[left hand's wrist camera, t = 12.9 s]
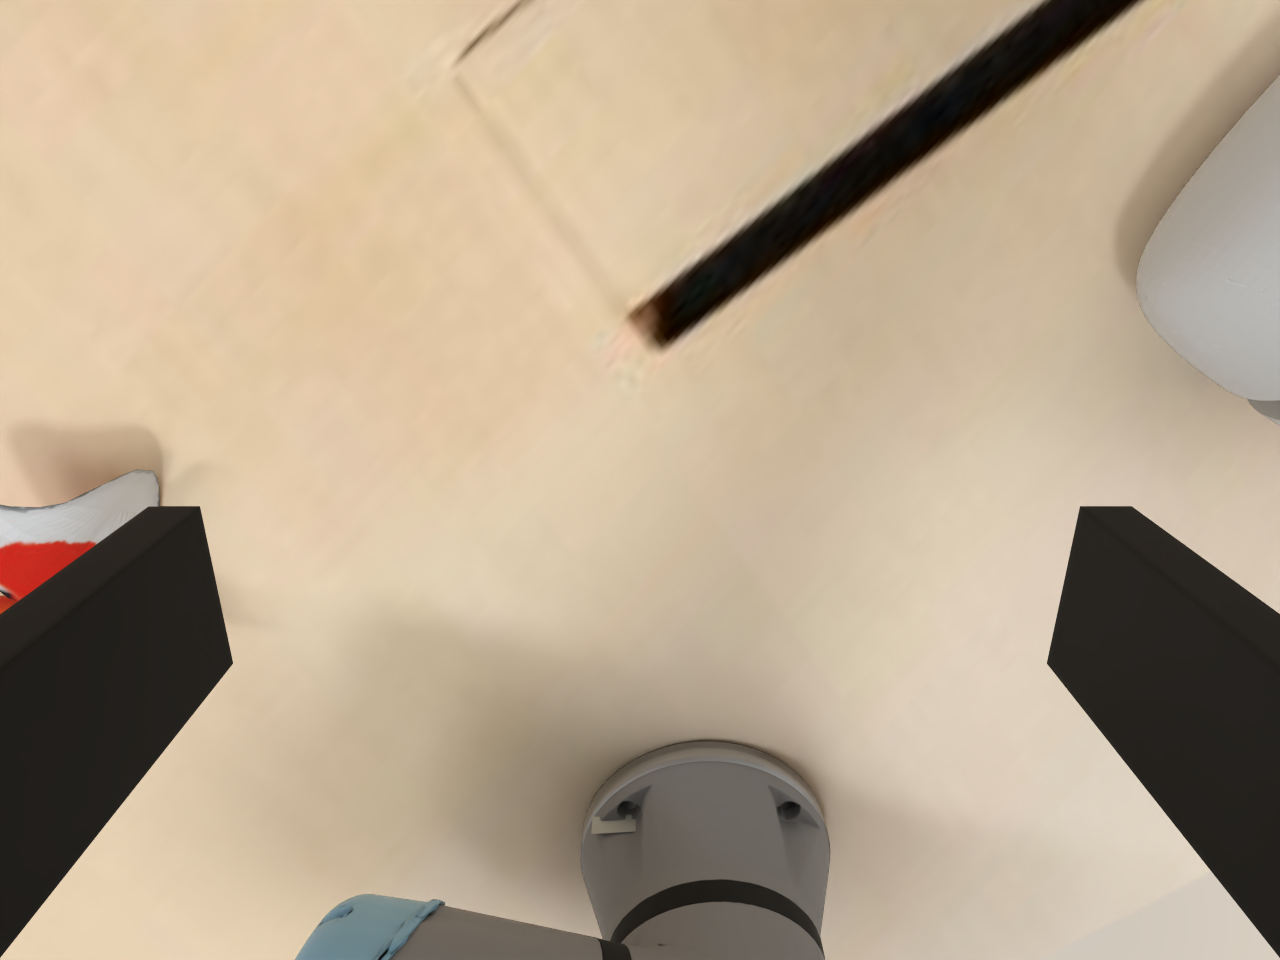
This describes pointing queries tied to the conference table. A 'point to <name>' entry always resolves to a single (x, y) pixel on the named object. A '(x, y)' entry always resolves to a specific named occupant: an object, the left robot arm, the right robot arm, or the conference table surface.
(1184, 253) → the projector
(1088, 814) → the conference table surface
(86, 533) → the fish
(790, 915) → the left robot arm
